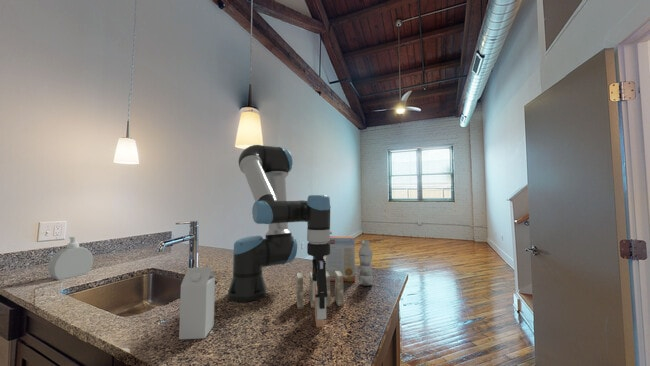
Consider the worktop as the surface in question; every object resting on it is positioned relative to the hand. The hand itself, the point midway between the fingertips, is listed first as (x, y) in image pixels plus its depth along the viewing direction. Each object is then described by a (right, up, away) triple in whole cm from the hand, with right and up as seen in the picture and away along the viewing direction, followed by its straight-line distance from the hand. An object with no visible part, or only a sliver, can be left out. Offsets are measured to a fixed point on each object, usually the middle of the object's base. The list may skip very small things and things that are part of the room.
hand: (318, 308), depth 81 cm
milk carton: (-36, -4, -6) cm, 37 cm away
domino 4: (+7, -5, +15) cm, 17 cm away
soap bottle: (-129, -8, +48) cm, 137 cm away
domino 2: (-3, -5, +13) cm, 15 cm away
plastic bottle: (+21, -6, +34) cm, 40 cm away
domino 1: (-7, -5, +13) cm, 16 cm away
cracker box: (+10, -7, +41) cm, 43 cm away
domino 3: (+2, -5, +14) cm, 15 cm away
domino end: (0, -4, 0) cm, 4 cm away
